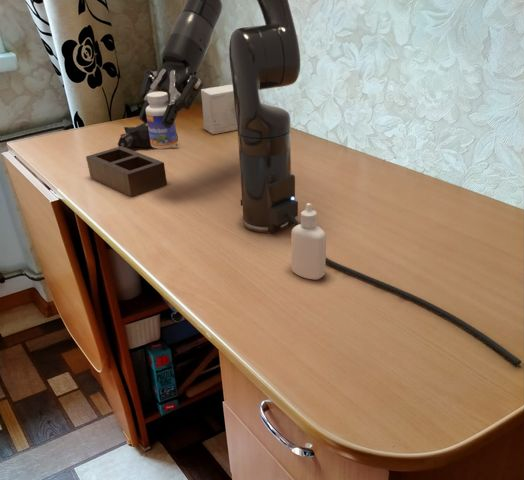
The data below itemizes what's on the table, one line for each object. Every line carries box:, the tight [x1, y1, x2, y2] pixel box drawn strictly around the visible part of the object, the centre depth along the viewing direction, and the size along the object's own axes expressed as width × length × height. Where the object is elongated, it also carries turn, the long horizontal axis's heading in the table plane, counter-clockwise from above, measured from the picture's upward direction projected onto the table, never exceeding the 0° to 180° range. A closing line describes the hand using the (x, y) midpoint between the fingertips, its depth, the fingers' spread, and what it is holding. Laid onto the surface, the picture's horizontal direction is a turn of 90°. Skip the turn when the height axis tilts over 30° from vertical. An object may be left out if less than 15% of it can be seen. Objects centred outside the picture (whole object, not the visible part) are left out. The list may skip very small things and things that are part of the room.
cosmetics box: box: [200, 83, 238, 135], centre depth 156 cm, size 10×6×10 cm, turn 119°
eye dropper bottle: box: [290, 202, 327, 281], centre depth 91 cm, size 4×6×12 cm
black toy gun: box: [117, 122, 179, 149], centre depth 148 cm, size 5×20×15 cm
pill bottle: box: [146, 91, 178, 150], centre depth 113 cm, size 5×5×10 cm
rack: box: [85, 146, 168, 198], centre depth 129 cm, size 17×9×5 cm, turn 44°
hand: (154, 123), depth 112 cm, fingers closed on pill bottle, 5 cm apart
